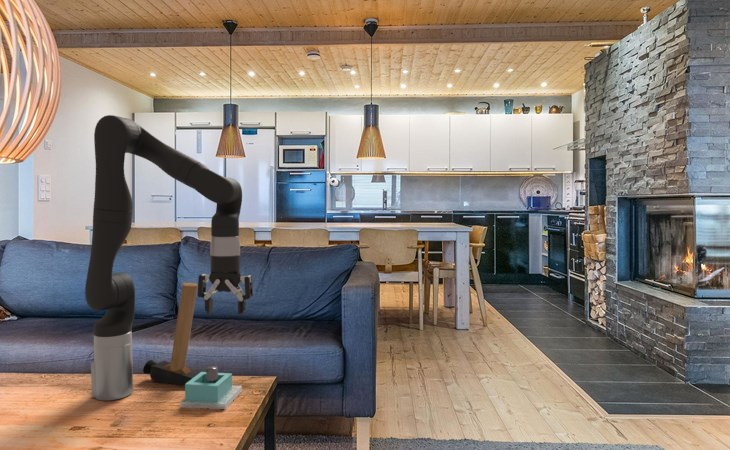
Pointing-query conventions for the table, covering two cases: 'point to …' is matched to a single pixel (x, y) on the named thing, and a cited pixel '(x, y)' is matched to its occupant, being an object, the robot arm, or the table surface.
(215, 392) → the collar
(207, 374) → the stand
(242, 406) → the table surface
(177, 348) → the hammer
